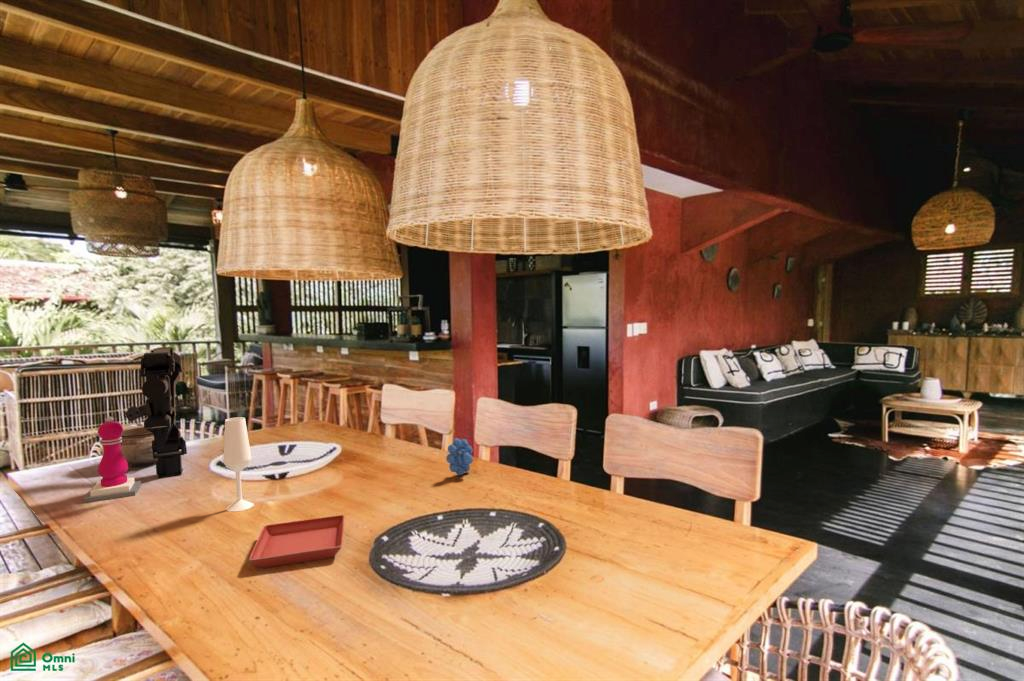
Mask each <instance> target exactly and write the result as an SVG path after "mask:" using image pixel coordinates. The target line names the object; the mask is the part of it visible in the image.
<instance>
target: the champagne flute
mask: <svg viewBox="0 0 1024 681" xmlns="http://www.w3.org/2000/svg"><path fill="white" fill-rule="evenodd" d="M223 436H224V438H223V458H222V459H223V460H222V461H223V462H222V463H223V464H224V465H225V466H226V467H227V468H228V469H229V470H231V471H232V472H234V473H235V487H236V500H235V501H234V502H232V503H231V504H230V505H229V506H227V507H226V508H225V510H226V511H227V512H240V511H241V512H242V511H245V510H248V509H251V508H253V507H254V503H253V502H250V501H247V500H245V499H243V494H242V492H243V490H242V477H241V476H242V474H241V472H242V471H243V470H244V469H245V468H246V467H247V466H248V465H249V464H250V462H251V460H252V453H251V447H250V441H249V435H248V428H247V422H246V417H241V416H240V417H238V416H237V417H231V418H226V419H225V420H224V435H223Z"/></svg>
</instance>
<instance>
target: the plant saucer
mask: <svg viewBox="0 0 1024 681" xmlns="http://www.w3.org/2000/svg"><path fill="white" fill-rule="evenodd" d="M345 518H346V517H345V515H343V514H341V515H338V514H337V515H331V516H324V517H316V518H315V517H314V518H308V519H303V520H302V519H301V520H296V521H295V520H294V521H288V522H280V523H272V524H271V523H270V524H266V525H264V526H263V527H262V529H261V532H260V534H259V536H258V538H257V540H256V543H255V545H254V546H253V549H252V551H251V554H250V556H249V558H248V560H249V561H250V563H252V564H254V565H255V566H257V567H258V568H270V567H276V566H284V565H289V564H296V563H302V562H303V563H304V562H311V561H316V560H323V559H331V558H334V557H335V556H336V555H337V554H338V553H339V551H340V550H341V548H342V546H343V544H344V543H343V541H344V530H345Z"/></svg>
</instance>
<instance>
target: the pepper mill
mask: <svg viewBox="0 0 1024 681" xmlns="http://www.w3.org/2000/svg"><path fill="white" fill-rule="evenodd" d="M114 420H115V419H114V417H113V416H107V417H106V418H105V421H106V422H104V423H101V425H100V426H99V427H98V428H97V435H98V437H100V445H102V448H103V449H102V450H103V451H102V452H103V453H102V456H101V460H100V461H99V463H98V467H97V473H98V475H99V476H100V477H102V478H101V479H100V482H101V486H103V487H111V486H117V485H121V484H124V483H126V482H127V478H128V475H127V473H126V472H127V471H128V470H129V465H128V463H127V461H126V459H125V458H124V456H123V455H122V453H121V449H120V442H122V437H120V436H121V434H122V433H123V428H124V427H123V424H121V423H120V422H118V421H114Z"/></svg>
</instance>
